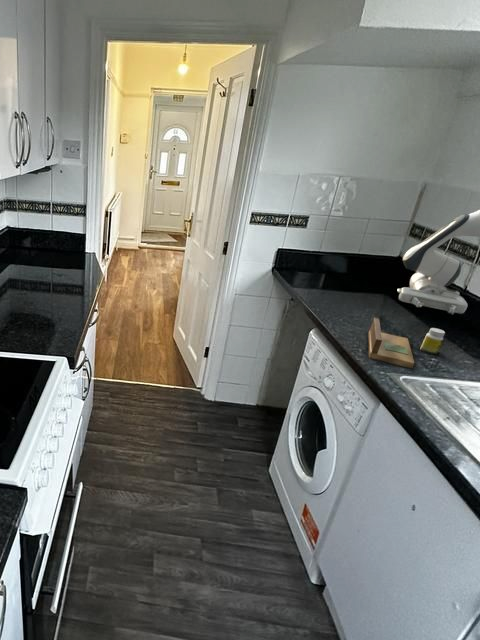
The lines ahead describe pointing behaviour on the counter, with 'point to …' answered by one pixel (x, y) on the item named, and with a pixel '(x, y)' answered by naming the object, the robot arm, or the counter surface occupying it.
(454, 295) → the robot arm
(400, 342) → the oak shelf
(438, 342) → the supplement bottle
